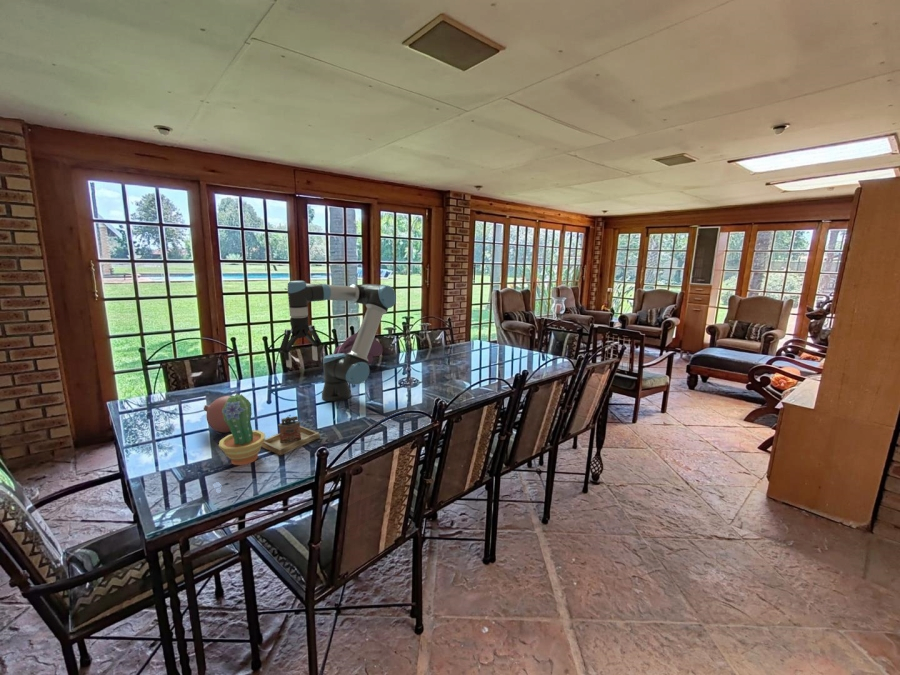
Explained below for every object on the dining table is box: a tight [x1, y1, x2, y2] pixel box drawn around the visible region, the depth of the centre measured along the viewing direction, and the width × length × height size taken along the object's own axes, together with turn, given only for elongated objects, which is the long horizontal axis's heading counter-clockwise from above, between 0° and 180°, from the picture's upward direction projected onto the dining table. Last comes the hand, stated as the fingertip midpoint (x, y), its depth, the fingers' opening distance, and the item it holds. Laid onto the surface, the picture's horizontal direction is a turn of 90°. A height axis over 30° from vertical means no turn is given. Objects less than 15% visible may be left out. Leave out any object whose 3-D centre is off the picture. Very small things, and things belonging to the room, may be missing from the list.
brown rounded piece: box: [203, 395, 231, 433], centre depth 171 cm, size 15×20×15 cm
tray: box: [261, 425, 320, 456], centre depth 161 cm, size 18×13×2 cm
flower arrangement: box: [333, 332, 384, 370], centre depth 257 cm, size 35×24×28 cm
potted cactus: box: [218, 393, 266, 466], centre depth 145 cm, size 15×15×25 cm
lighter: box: [278, 415, 301, 443], centre depth 160 cm, size 8×3×10 cm, turn 112°
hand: (302, 363), depth 178 cm, fingers open, 13 cm apart
